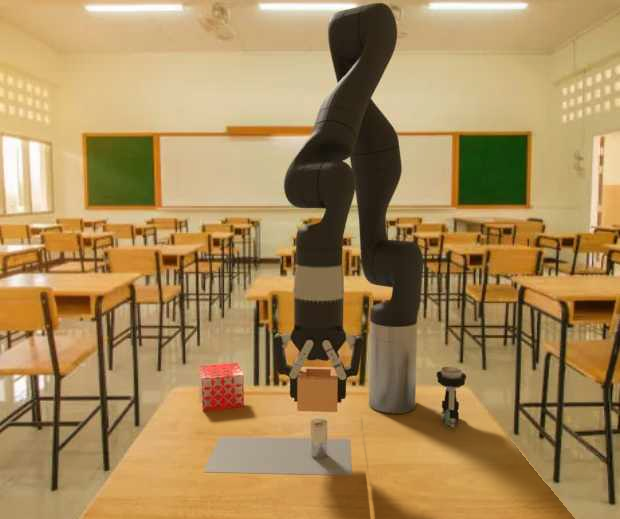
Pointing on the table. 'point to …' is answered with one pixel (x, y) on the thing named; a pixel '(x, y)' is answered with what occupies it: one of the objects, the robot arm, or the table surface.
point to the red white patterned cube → (221, 386)
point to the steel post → (318, 438)
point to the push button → (451, 393)
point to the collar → (317, 389)
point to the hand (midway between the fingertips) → (317, 400)
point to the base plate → (278, 456)
